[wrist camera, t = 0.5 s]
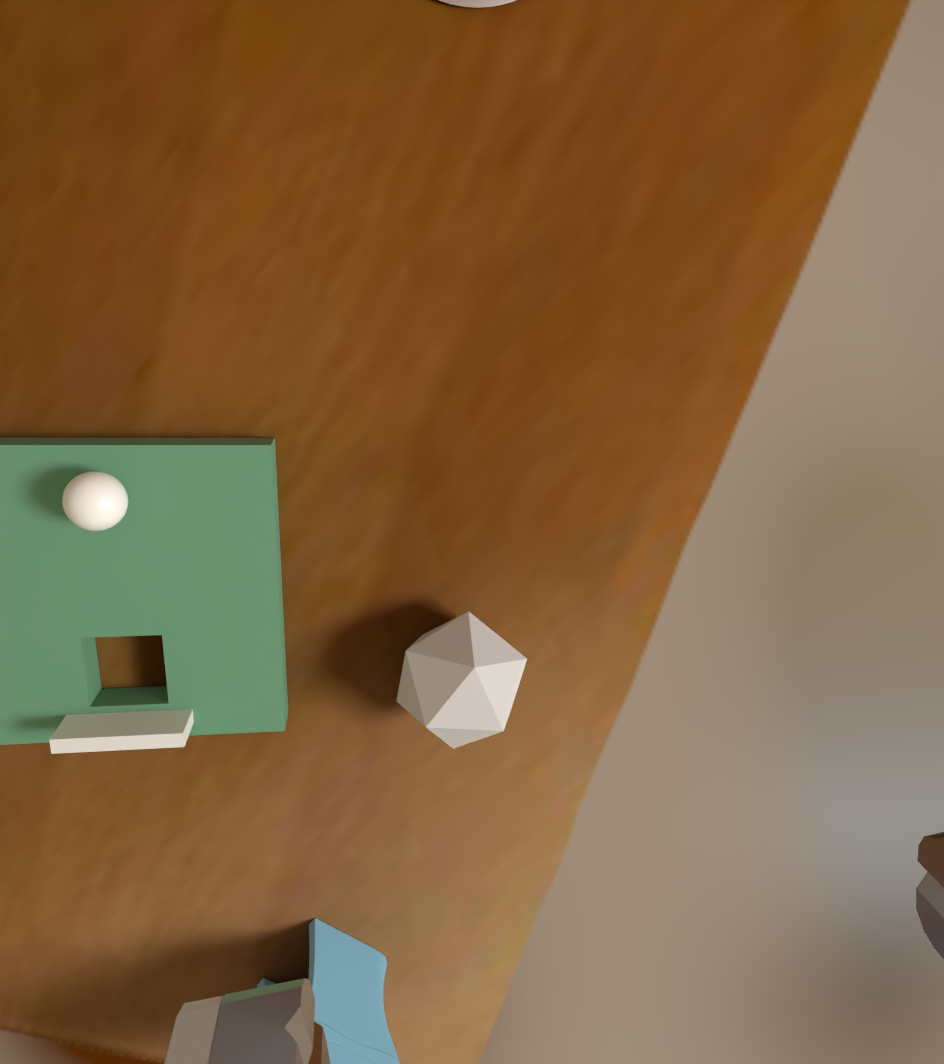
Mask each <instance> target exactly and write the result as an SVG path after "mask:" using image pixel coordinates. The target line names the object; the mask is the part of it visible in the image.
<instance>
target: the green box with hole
mask: <svg viewBox="0 0 944 1064" xmlns="http://www.w3.org/2000/svg"><path fill="white" fill-rule="evenodd" d="M93 471H97V472H104V473H107V474H109V475H111V476H113V477H115V478H116V479H117V480H119V481H120V482H121V484H122V485H123V486H124V488H125V490H126V492H127V496H128V507H127V511H126V513H125V515H124V517H123V518H122V519H121V521H120V522H118V523H117V524H116V525H114V526H113V527H111V528H109V529H105V530H101V531H91V530H86V529H83V528H80V527H79V526H77V525H75V524H74V523H73V522H72V521H71V520H70V519H69V518H68V517H67V515H66V514H65V512H64V509H63V505H62V497H63V492H64V490H65V488H66V486H67V485H68V483H69V482H70V481H71V480H72V479H73V478H75V477H76V476H78V475H80V474H83V473H86V472H93ZM149 635H162V641H163V651H164V661H165V671H166V681H167V686H154V687H129V688H104V689H101V681H100V673H99V665H98V657H97V649H96V641H95V637H118V636H149ZM287 716H288V698H287V677H286V657H285V636H284V616H283V595H282V574H281V554H280V533H279V513H278V492H277V471H276V451H275V438H48V437H0V745H6V744H26V743H47V742H50V747H51V754H55V753H74V752H94V751H114V750H133V749H153V748H173V747H184V746H185V744H186V741H187V739H188V736H190V735H210V734H230V733H251V732H271V731H285V728H286V722H287Z"/></svg>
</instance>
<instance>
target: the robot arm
mask: <svg viewBox="0 0 944 1064" xmlns="http://www.w3.org/2000/svg"><path fill="white" fill-rule="evenodd" d="M439 1H442V2H445V3H448V4H452V5H457V6H463V7H477V8H480V7H492V6H498V5H503V4H507V3H510V2H513V1H516V0H439ZM918 862H919V863H920V864H921V865H922V866H923V867H924V868H925V869H926V870H927V871H928V872H927V874H926V875H925V877H924V878H923V879H922V881H921V882H920V884H919V885H918V887H917V888H916V908H917V912H918V915H919V918H920V921H921V924H922V927H923V929H924V932H925V933H926V935H927V937H928V938H929V940H930V942H931V943H932V945H933V947H934V948H935V949H936V951H937V952H938V953H939V954H940V955H941V957H942V958H943V959H944V832H940V833H936V834H932V835H928V836H924V838H923V839H922V841H921V842H920V844H919V848H918ZM314 1016H315V997H314V994H313V991H312V988H311V984H310V981H309V980H308V979H306V978H304V979H299V980H294V981H289V982H284V983H279V984H274V985H269V986H264V987H259V988H254V989H249V990H244V991H239V992H234V993H229V994H226V995H223V996H218V997H213V998H208V999H203V1000H198V1001H193V1002H188V1003H184V1005H183V1006H182V1008H181V1010H180V1011H179V1013H178V1015H177V1016H176V1020H175V1024H174V1028H173V1032H172V1036H171V1040H170V1044H169V1048H168V1052H167V1056H166V1060H165V1064H330V1058H329V1052H328V1046H327V1041H326V1037H325V1033H324V1029H323V1027H322V1026H321V1025H319V1024H318V1023H316V1022H315V1021H314Z"/></svg>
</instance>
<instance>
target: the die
mask: <svg viewBox="0 0 944 1064" xmlns="http://www.w3.org/2000/svg"><path fill="white" fill-rule="evenodd" d="M526 661H527V658H525V657H524V656H523V655H522V654H520V653H519V652H518V651H517V650H516V649H514V648H513V647H512V646H511V645H509V644H508V643H507V642H506V641H504V640H503V639H502V638H501V637H500V636H498V635H497V634H496V633H495V632H493V631H492V630H491V629H490V628H488V627H487V626H486V625H485V624H484V623H482V622H481V621H480V620H479V619H477V618H476V617H475V616H474V615H472V614H471V613H470V612H469V611H468V612H466V613H464V614H462V615H460V616H458V617H456V618H454V619H452V620H450V621H448V622H446V623H444V624H443V625H441V626H439V627H437V628H435V629H433V630H431V631H429V632H427V633H425V634H423V635H422V636H420V637H419V638H418V639H417V640H416V641H415V642H414V643H413V644H412V645H411V646H410V647H409V648H408V649H407V650H406V652H405V657H404V663H403V668H402V674H401V679H400V685H399V690H398V696H397V702H398V703H399V704H400V705H401V706H402V707H403V708H405V709H406V710H407V711H408V712H409V713H410V714H411V715H412V716H414V717H415V718H416V719H417V720H418V721H419V722H420V723H422V724H423V725H424V726H425V727H426V728H427V729H429V730H430V731H431V732H433V733H434V734H435V735H436V736H438V737H439V738H440V739H442V740H443V741H444V742H445V743H447V744H448V745H449V746H451V747H452V748H456V747H459V746H462V745H465V744H468V743H471V742H474V741H477V740H479V739H482V738H485V737H488V736H491V735H494V734H497V733H500V732H503V731H504V728H505V725H506V722H507V720H508V717H509V714H510V711H511V708H512V705H513V702H514V698H515V695H516V692H517V689H518V686H519V683H520V680H521V676H522V673H523V670H524V667H525V664H526Z"/></svg>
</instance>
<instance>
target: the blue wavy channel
mask: <svg viewBox="0 0 944 1064" xmlns="http://www.w3.org/2000/svg"><path fill="white" fill-rule="evenodd" d="M386 967H387V961H386V958H385V956H384V955H383V954H382V953H380V952H379V951H377V950H375V949H374V948H372V947H370V946H368V945H366V944H364V943H362V942H360V941H358V940H356V939H355V938H353V937H351V936H349V935H347V934H345V933H343V932H341V931H339V930H337V929H335V928H333V927H331V926H330V925H328V924H326V923H324V922H322V921H320V920H318V919H316V918H314V920H313V921H312V922H311V923H310V924H309V978H308V980H309V981H310V984H311V988H312V991H313V994H314V997H315V1016H314V1021H315V1022H316V1023H318V1024H319V1025H321V1026H322V1027H323V1029H324V1033H325V1037H326V1041H327V1046H328V1052H329V1058H330V1064H399V1059H398V1056H397V1054H396V1051H395V1048H394V1045H393V1043H392V1040H391V1037H390V1034H389V1030H388V1026H387V1023H386V1018H385V1013H384V1006H383V985H384V978H385V972H386ZM274 984H276V983H274V982H271V981H269V980H267V979H265V978H263V979H262V980H261V981H260V982H259V983H258V984H257V988H259V987H264V986H269V985H274Z"/></svg>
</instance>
